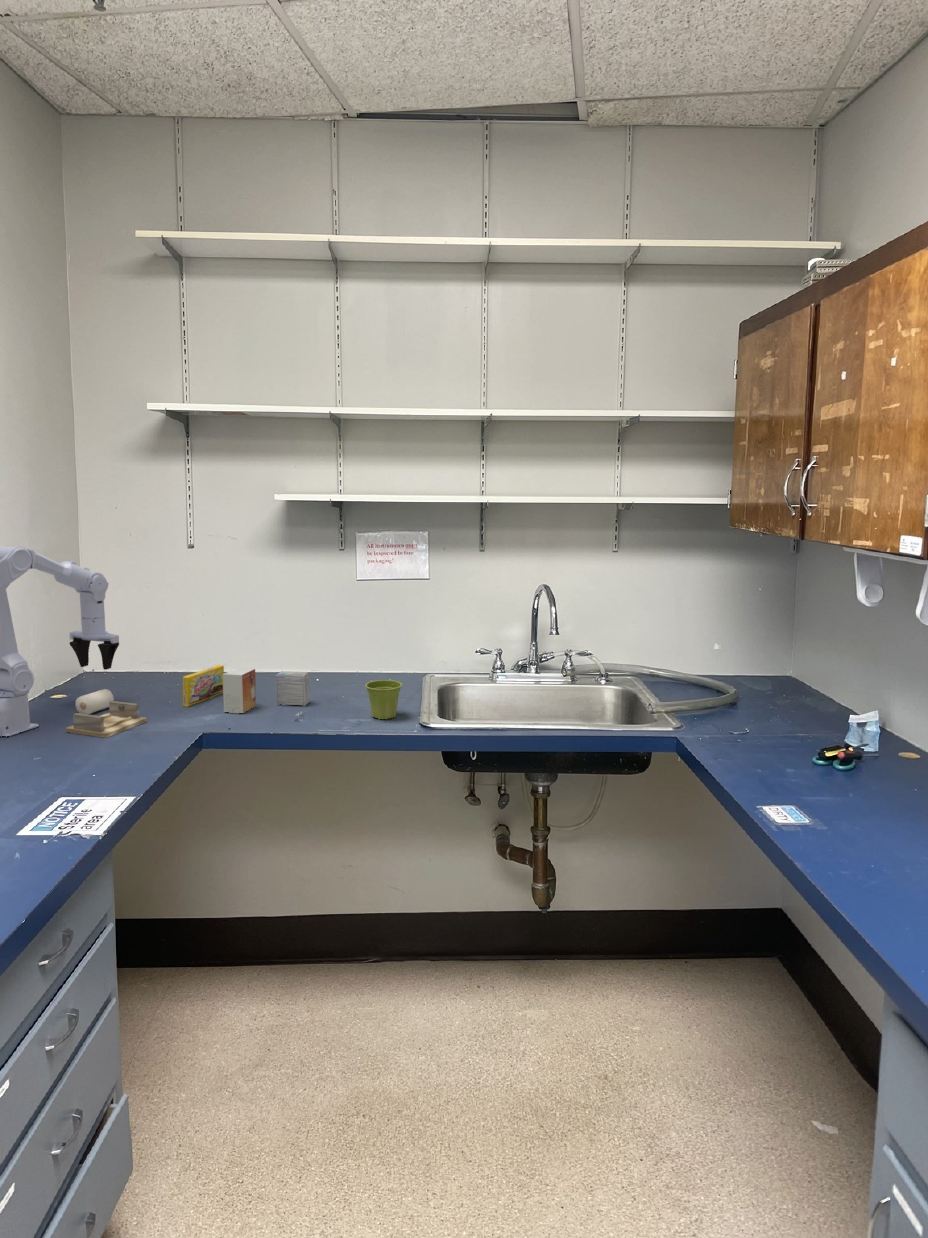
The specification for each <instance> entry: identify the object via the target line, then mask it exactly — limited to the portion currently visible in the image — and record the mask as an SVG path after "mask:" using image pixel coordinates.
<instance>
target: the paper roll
mask: <svg viewBox="0 0 928 1238" xmlns="http://www.w3.org/2000/svg"><path fill="white" fill-rule="evenodd" d="M114 699H115V698H114V695H113V693H112V692H111V691H110V690H109V689H107V688H104V689H99V690H97V691H93V692H90V693H87V694H84V695H81V696H78V697H77V698H76V700H75V709H76V711H77V713H81V714H88V715H92V714H94V713H96V712H99V711H102V710H105V709H107V708H109V702H111V701H115V700H114Z"/></svg>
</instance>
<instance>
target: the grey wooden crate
mask: <svg viewBox="0 0 928 1238" xmlns="http://www.w3.org/2000/svg"><path fill="white" fill-rule="evenodd" d="M309 680H310V679H309V672H308V671H291V670H289V671H284V670H283V671H280V672H278V673H277V674H276V675H275V681H276V682H275V684H276V685H275V686H276V705H277V704H285V705H284V706H287V705H305V706H307V705H308V703H310V683H309V682H310V681H309Z"/></svg>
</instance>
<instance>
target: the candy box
mask: <svg viewBox="0 0 928 1238" xmlns="http://www.w3.org/2000/svg"><path fill="white" fill-rule="evenodd" d="M224 673H225V666H224V665H221V664H217V665H215V666H212V667H208V668H206V669H203V670H199V671H195V672H194V673H190V674H188V675H184V676H182V707H186V708H188V707H191V706H194V705H196V703H197V704H198V703H201V702H205V701H207V700H209V699H212V698H214V696H215V697H216V695H217V696H219V695H218V694H220V695H221V693H222V694H223V674H224ZM208 698H209V699H208ZM206 699H207V700H206Z"/></svg>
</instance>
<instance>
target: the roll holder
mask: <svg viewBox="0 0 928 1238" xmlns="http://www.w3.org/2000/svg"><path fill="white" fill-rule="evenodd" d="M139 707H140V706H139V703H134V702H133V703H132V702H126V701H118V700H114V701H111V702H109V707H108V708H109V709H108V710H109V712H107V713H104V714H102V715H95V714H81V713H79V712H76V713H73V714H72V720H73V722H72V724H73V725H71V726H70V725H69V726H68V727H65V733H68V732H70V733H69V734H78V735H82V736H91V737H97V738H105V739H107V738H110V737H111V736H115V735H117V734H120V733H122V732H125V731H127V730H130V729H133V728H135V727H138V726H139V725H143V724H145V723H148V717H142V716H140V711H139V710H140V709H139Z"/></svg>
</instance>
